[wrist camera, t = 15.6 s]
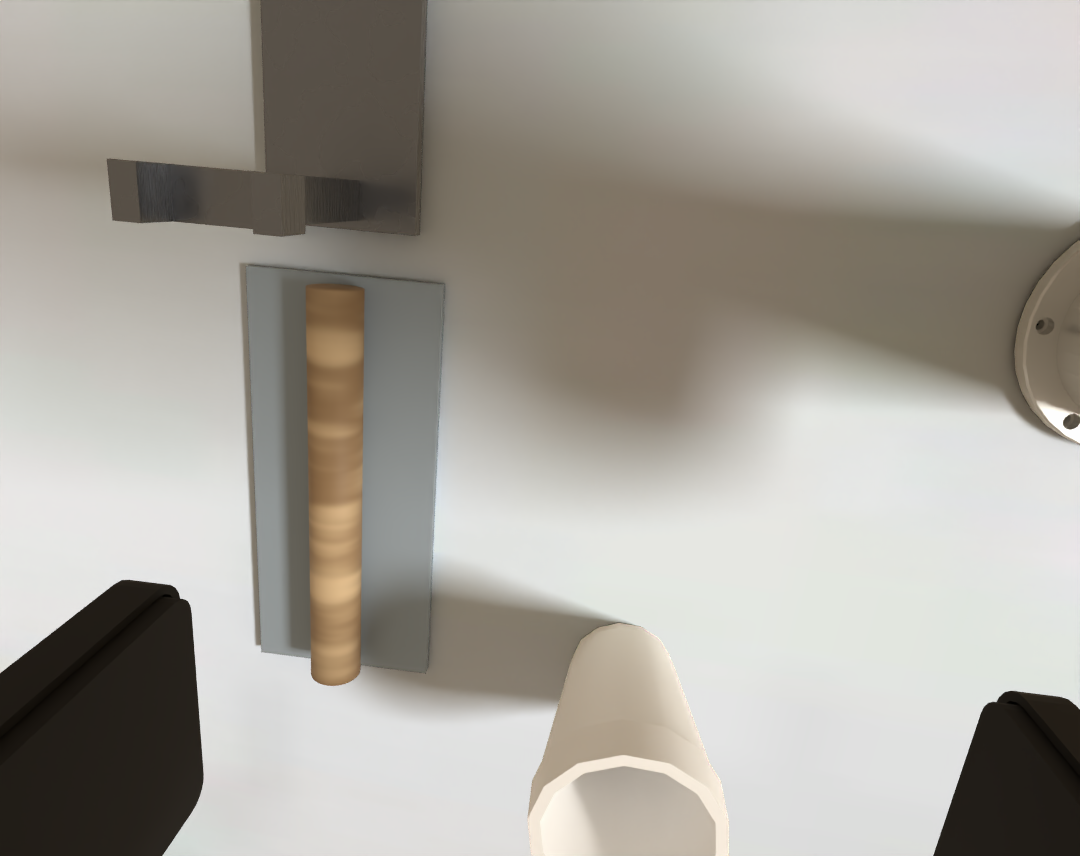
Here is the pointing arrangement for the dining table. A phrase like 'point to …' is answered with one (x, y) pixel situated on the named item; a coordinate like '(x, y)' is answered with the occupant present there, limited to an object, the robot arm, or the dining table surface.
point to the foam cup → (625, 759)
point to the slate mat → (388, 460)
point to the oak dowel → (335, 477)
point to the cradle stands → (312, 130)
